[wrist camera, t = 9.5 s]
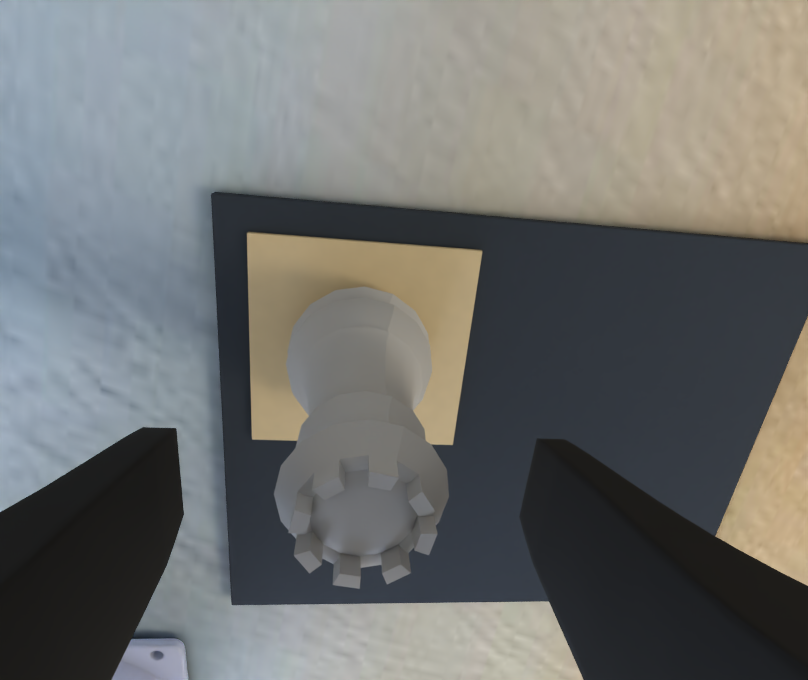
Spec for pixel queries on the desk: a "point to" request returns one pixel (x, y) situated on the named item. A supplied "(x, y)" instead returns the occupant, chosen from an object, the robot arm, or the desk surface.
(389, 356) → the rook chess piece
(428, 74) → the desk surface
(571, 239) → the desk pad
